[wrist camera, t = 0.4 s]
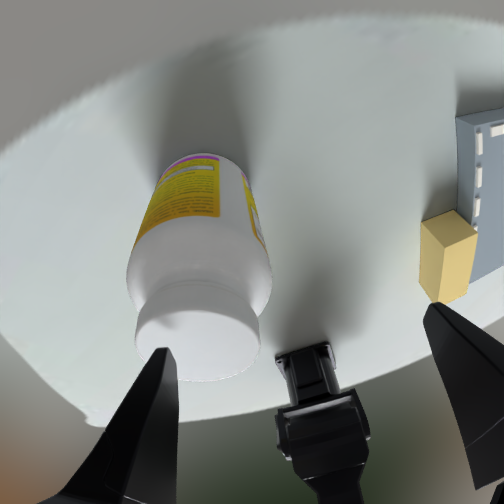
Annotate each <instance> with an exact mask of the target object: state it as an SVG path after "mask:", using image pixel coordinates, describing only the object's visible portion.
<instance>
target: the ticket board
mask: <svg viewBox="0 0 504 504" xmlns="http://www.w3.org/2000/svg"><path fill="white" fill-rule="evenodd" d="M455 118H456V131H457V151H458V196H457V213H458V214H459V215H460V216H461V217H462V218H463V219H464V220H465V221H466V222H467V223H468V224H469V225H471V226H472V227H473V228H474V229H475V230H476V231H477V232H478V238H477V244H476V250H475V255H474V261H473V266H472V271H471V276H470V280H469V284H470V283H472V282H474V281H476V280H478V279H480V278H481V277H483V276H485V275H487V274H489V273H491V272H492V271H494V270H496V269H498V268H499V267H501V266H503V265H504V108H501V109H495V110H490V111H484V112H479V113H474V114H469V115H464V116H460V117H455Z"/></svg>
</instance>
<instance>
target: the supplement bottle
mask: <svg viewBox="0 0 504 504" xmlns="http://www.w3.org/2000/svg"><path fill="white" fill-rule="evenodd" d="M126 280H127V288H128V292H129V295H130V298H131V300H132V302H133V304H134V306H135V307H136V309H137V310H138V312H139V316H138V321H137V327H136V332H135V346H136V350H137V352H138V354H139V356H140V357H141V359H142V360H143V361H144V362H145V363H147V361H148V360H149V358H150V356H151V355H152V353H153V352H154V350H155V349H156V348H158V347H168V348H169V349H170V351H171V353H172V355H173V357H174V359H175V361H176V364H177V379H180V380H185V381H194V382H208V381H217V380H222V379H225V378H229V377H232V376H235V375H237V374H239V373H241V372H243V371H244V370H246V369H247V368H248V367H250V366H251V365H252V364H253V363H254V362H255V360H256V359H257V357H258V355H259V352H260V335H259V323H258V318H257V317H258V316H259V315H260V314H261V313H262V311H263V310H264V308H265V306H266V305H267V303H268V300H269V297H270V294H271V290H272V271H271V266H270V262H269V257H268V254H267V250H266V246H265V242H264V238H263V234H262V230H261V226H260V222H259V218H258V214H257V209H256V205H255V202H254V198H253V194H252V190H251V187H250V184H249V182H248V180H247V178H246V176H245V174H244V173H243V172H242V170H241V169H240V168H239V167H238V166H237V165H236V164H234V163H233V162H232V161H230V160H228V159H227V158H224V157H222V156H219V155H215V154H210V153H198V154H192V155H188V156H185V157H183V158H181V159H179V160H177V161H176V162H174V163H173V164H171V165H170V166H169V167H168V168H167V169H166V170H165V172H164V173H163V174H162V176H161V177H160V179H159V181H158V183H157V186H156V188H155V190H154V193H153V195H152V198H151V200H150V203H149V205H148V208H147V210H146V213H145V216H144V219H143V221H142V224H141V227H140V229H139V232H138V235H137V238H136V241H135V244H134V246H133V249H132V252H131V255H130V259H129V262H128V267H127V277H126Z"/></svg>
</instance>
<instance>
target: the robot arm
mask: <svg viewBox="0 0 504 504" xmlns="http://www.w3.org/2000/svg"><path fill="white" fill-rule="evenodd" d="M423 325H424V328H425V331H426V334H427V338H428V341H429V344H430V347H431V351H432V354H433V357H434V360H435V363H436V365H437V368H438V370H439V373H440V375H441V378H442V380H443V383H444V386H445V388H446V391H447V394H448V397H449V399H450V402H451V405H452V408H453V411H454V414H455V417H456V420H457V423H458V426H459V429H460V433H461V436H462V439H463V443H464V446H465V450H466V454H467V458H468V462H469V465H470V469H471V473H472V477H473V482H474V486H475V490H478V489H480V488H483V487H485V486H487V485H489V484H491V483H493V482H495V481H497V480H499V479H501V478H503V477H504V345H503V344H502V343H500V342H499V341H497V340H496V339H494V338H493V337H492V336H490V335H489V334H487V333H486V332H485V331H483V330H482V329H480V328H479V327H477V326H476V325H474V324H473V323H471V322H470V321H469V320H467V319H466V318H464V317H463V316H461V315H460V314H458V313H457V312H455V311H454V310H452V309H451V308H449V307H448V306H446V305H445V304H443V303H441V302H434V303H431V304H430V305H429V306H428V309H427V311H426V314H425V316H424V318H423ZM275 363H276V365H277V367H278V368H279V370H280V372H281V373H282V375H283V377H284V378H285V380H286V382H287V387H288V392H289V397H290V402H291V407H287V408H279V409H278V414H277V415H275V421H276V427H277V449H278V450H280V451H281V452H283V455H284V456H285V458H286V460H287V461H290V460H292V463H293V468H294V471H295V473H296V474H297V475H298V476H299V477H300V478H301V479H302V480H303V481H304V482H305V483H306V484H307V485H308V486H309V487H311V489H312V490H313V491H314V492H315V493H316V494H317V498H318V503H319V504H364V501H363V496H362V493H361V488H360V484H359V481H360V478H361V475H362V473H363V469H364V467H365V464H366V461H367V458H368V455H369V449H368V445H367V441H366V440H368V439H370V428H369V424H368V420H367V417H366V414H365V412H364V410H363V407H362V405H361V402H360V400H359V397H358V395H357V393H356V390H355V388H353V389H350V390H349V391H346V392H343V393H341V391H340V388H339V384H338V381H337V378H336V375H335V372H334V370H335V369H336V365H335V361H334V357H333V354H332V350H331V346H330V343H329V342H324V343H321V344H318V345H315V346H312V347H309V348H306V349H303V350H299V351H296V352H293V353H290V354H287V355H283V356H280V357H277V358H275ZM178 421H179V398H178V380H177V364H176V361H175V359H174V357H173V355H172V353H171V351H170V349H169V348H168V347H158V348H156V349H155V350H154V352H153V353H152V355H151V356H150V358H149V360H148V361H147V363H146V364H145V366H144V367H143V369H142V371H141V372H140V374H139V375H138V377H137V379H136V380H135V382H134V383H133V385H132V387H131V388H130V390H129V391H128V393H127V395H126V396H125V398H124V399H123V401H122V403H121V404H120V406H119V407H118V409H117V411H116V412H115V414H114V416H113V417H112V419H111V421H110V422H109V424H108V425H107V427H106V429H105V431H104V432H103V434H102V435H101V437H100V439H99V440H98V442H97V443H96V445H95V446H94V448H93V450H92V451H91V452H90V454H89V455H88V457H87V458H86V459H85V461H84V462H83V463H82V465H81V466H80V468H79V469H78V470H77V471H76V473H75V474H74V475H73V476H72V478H71V479H70V480H69V482H68V483H67V484H66V485H65V487H64V488H63V489H62V490H61V491H59V492H58V493H57V494H56V495H54V496H52V497H50V498H48V499H46V500H44V501H41V502H39V503H37V504H176V477H177V443H178ZM490 504H504V481H503V482H501V483H500V484H499V485H497V487H496V489H495V492H494V495H493V497H492V500H491V502H490Z"/></svg>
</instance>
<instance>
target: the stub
mask: <svg viewBox="0 0 504 504" xmlns="http://www.w3.org/2000/svg"><path fill="white" fill-rule="evenodd" d="M477 238H478V232H477V231H476V230H475V229H474V228H473V227H472V226H471V225H469V224H468V223H467V222H466V221H465V220H464V219H463V218H462V217H461V216H460V215H459V214H458V213H456V212H455V211H454V210H451V211H449V212H446V213H444V214H441V215H438V216H436V217H433V218H431V219H428V220H426V221H423V222H421V255H420V275H419V283H420V285H421V286H422V288H423V289H424V291H425V292H426V294H427V295H428V297H429V298H430V300H431V301H432V303H434V302H441V303H443V304H447V303H449V302H451V301H453V300H455V299H457V298H459V297H461V296H463V295H465V294H466V293H467V289H468V284H469V280H470V276H471V271H472V266H473V261H474V255H475V250H476V244H477Z"/></svg>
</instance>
